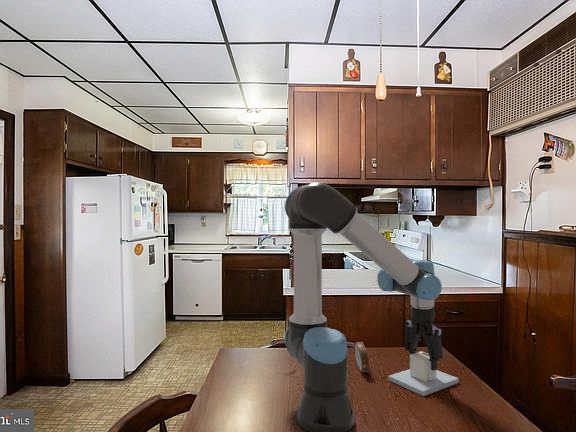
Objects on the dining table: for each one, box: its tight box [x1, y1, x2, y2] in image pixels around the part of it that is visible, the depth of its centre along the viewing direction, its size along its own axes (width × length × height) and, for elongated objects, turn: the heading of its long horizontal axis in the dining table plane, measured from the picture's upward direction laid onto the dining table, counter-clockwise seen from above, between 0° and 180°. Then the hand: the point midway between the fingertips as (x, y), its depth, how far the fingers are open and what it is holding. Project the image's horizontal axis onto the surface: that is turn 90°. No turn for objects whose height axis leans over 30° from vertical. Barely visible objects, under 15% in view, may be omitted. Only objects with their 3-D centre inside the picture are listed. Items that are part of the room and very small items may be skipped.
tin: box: [354, 341, 370, 373], centre depth 138 cm, size 15×3×8 cm, turn 178°
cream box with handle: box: [409, 351, 438, 382], centre depth 126 cm, size 6×6×7 cm
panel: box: [387, 368, 459, 397], centre depth 126 cm, size 18×14×6 cm
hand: (423, 375), depth 126 cm, fingers closed on cream box with handle, 6 cm apart
